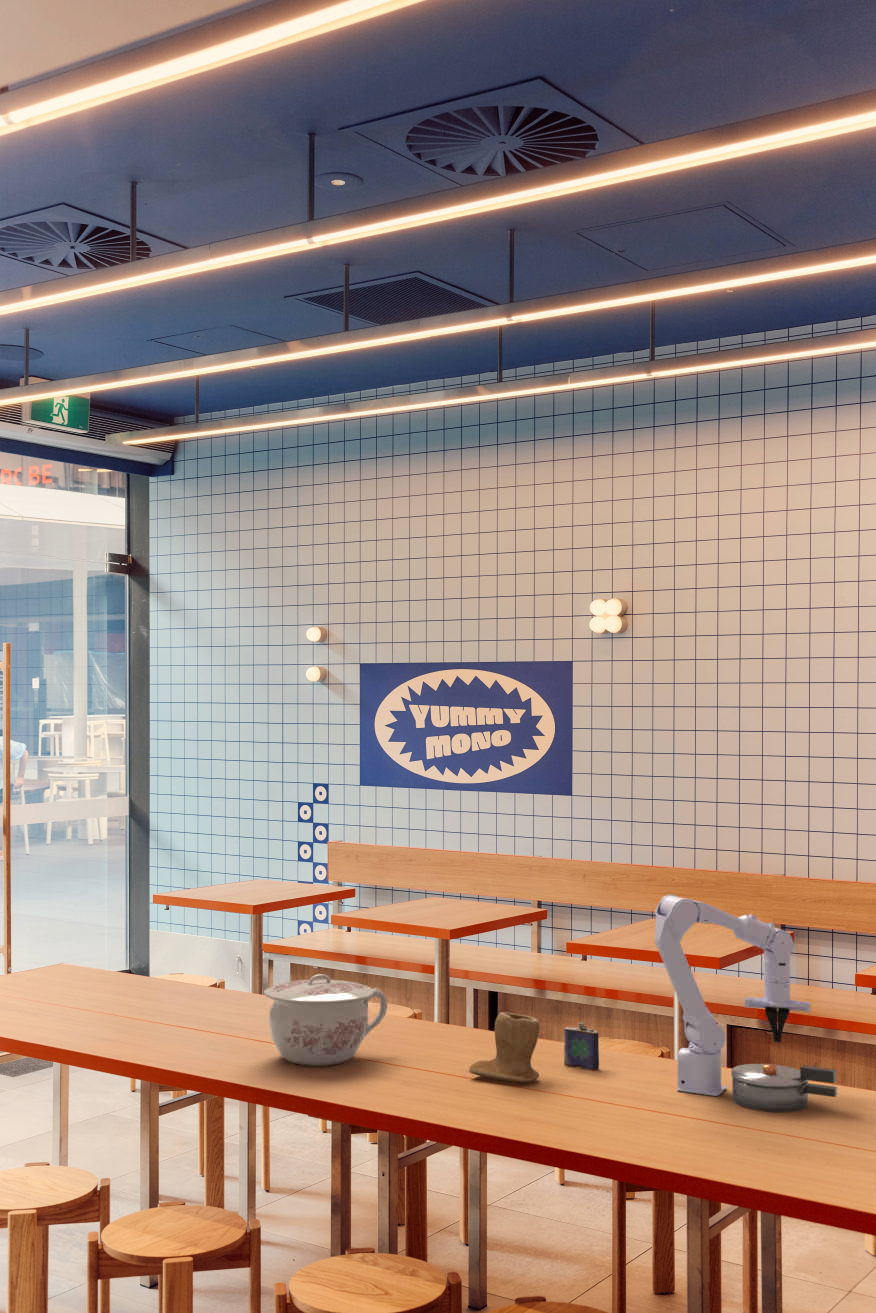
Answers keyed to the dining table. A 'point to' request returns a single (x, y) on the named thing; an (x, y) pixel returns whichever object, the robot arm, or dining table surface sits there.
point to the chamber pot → (321, 1019)
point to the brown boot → (511, 1049)
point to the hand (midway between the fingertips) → (777, 1041)
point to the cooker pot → (777, 1096)
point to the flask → (581, 1047)
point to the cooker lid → (781, 1075)
